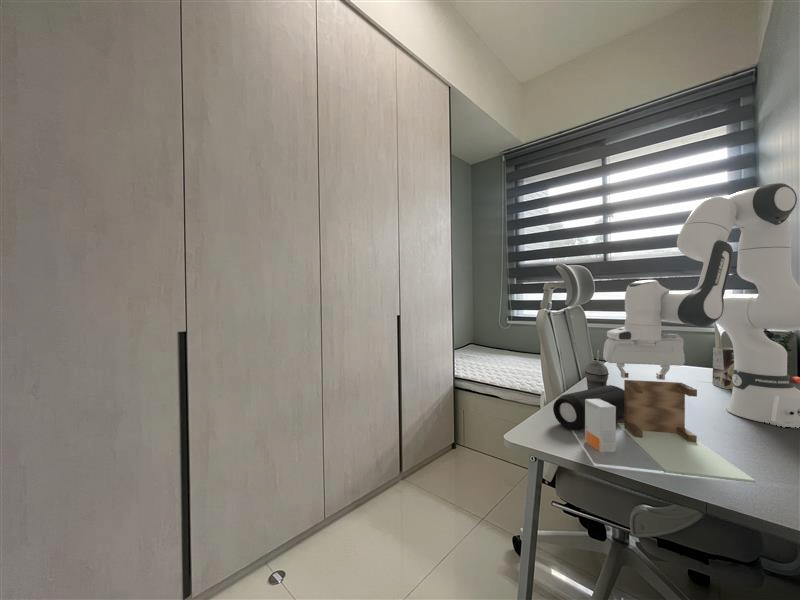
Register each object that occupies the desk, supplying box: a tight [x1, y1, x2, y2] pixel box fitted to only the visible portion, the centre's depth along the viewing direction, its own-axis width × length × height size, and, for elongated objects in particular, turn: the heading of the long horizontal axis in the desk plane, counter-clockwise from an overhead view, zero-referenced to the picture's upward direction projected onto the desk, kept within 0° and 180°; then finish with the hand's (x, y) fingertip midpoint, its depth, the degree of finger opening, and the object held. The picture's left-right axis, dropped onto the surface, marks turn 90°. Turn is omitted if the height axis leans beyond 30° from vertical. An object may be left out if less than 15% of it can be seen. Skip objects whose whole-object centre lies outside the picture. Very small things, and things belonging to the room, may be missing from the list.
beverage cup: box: [584, 349, 610, 390], centre depth 111 cm, size 7×7×20 cm
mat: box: [616, 422, 756, 483], centre depth 80 cm, size 16×26×1 cm, turn 165°
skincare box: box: [584, 399, 617, 453], centre depth 81 cm, size 6×4×12 cm
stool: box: [623, 379, 698, 443], centre depth 87 cm, size 14×7×14 cm, turn 75°
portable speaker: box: [552, 384, 624, 430], centre depth 97 cm, size 26×10×10 cm, turn 115°
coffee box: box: [712, 346, 734, 390], centre depth 129 cm, size 9×6×16 cm
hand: (642, 378), depth 95 cm, fingers open, 8 cm apart
